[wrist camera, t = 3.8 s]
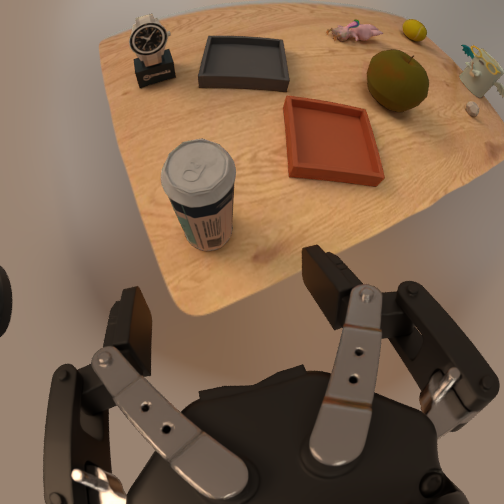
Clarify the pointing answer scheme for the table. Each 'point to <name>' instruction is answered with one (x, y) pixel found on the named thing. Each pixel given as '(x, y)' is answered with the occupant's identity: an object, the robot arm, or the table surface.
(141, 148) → the table surface
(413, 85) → the apple
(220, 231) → the beer can
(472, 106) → the game die
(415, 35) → the tennis ball
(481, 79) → the character sculpture
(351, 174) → the terracotta tray
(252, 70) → the grey tray
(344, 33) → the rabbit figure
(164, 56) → the watch
